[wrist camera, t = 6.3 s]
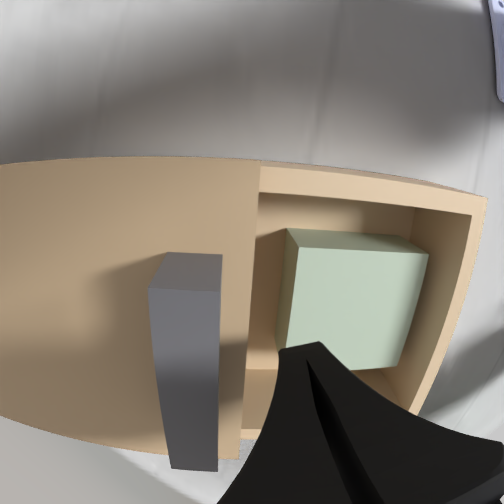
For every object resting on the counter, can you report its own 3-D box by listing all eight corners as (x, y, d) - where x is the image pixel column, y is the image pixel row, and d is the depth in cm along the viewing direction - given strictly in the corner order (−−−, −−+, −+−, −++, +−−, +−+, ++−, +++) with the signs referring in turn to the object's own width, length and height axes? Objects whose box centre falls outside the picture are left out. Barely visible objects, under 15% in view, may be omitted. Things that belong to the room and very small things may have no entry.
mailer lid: (258, 159, 9) (272, 166, 6) (238, 446, 13) (240, 503, 10) (-89, 179, 8) (-134, 193, 5) (-33, 391, 12) (-59, 424, 9)
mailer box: (426, 181, 15) (487, 198, 10) (382, 370, 19) (413, 422, 14) (110, 157, 14) (60, 164, 9) (126, 366, 18) (103, 426, 13)
